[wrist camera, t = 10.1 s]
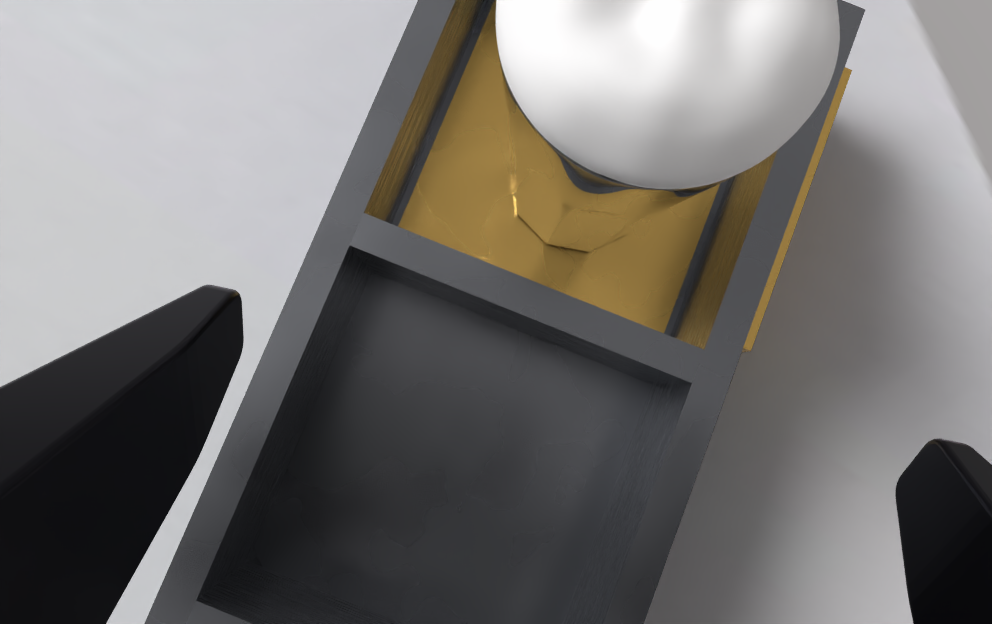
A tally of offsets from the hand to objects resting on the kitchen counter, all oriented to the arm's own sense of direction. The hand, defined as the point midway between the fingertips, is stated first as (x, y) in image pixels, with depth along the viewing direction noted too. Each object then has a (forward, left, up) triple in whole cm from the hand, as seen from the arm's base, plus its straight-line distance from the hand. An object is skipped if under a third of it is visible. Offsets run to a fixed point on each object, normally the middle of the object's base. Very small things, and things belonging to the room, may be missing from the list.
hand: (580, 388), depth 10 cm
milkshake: (+5, +1, -8) cm, 10 cm away
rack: (-2, +1, -9) cm, 9 cm away
